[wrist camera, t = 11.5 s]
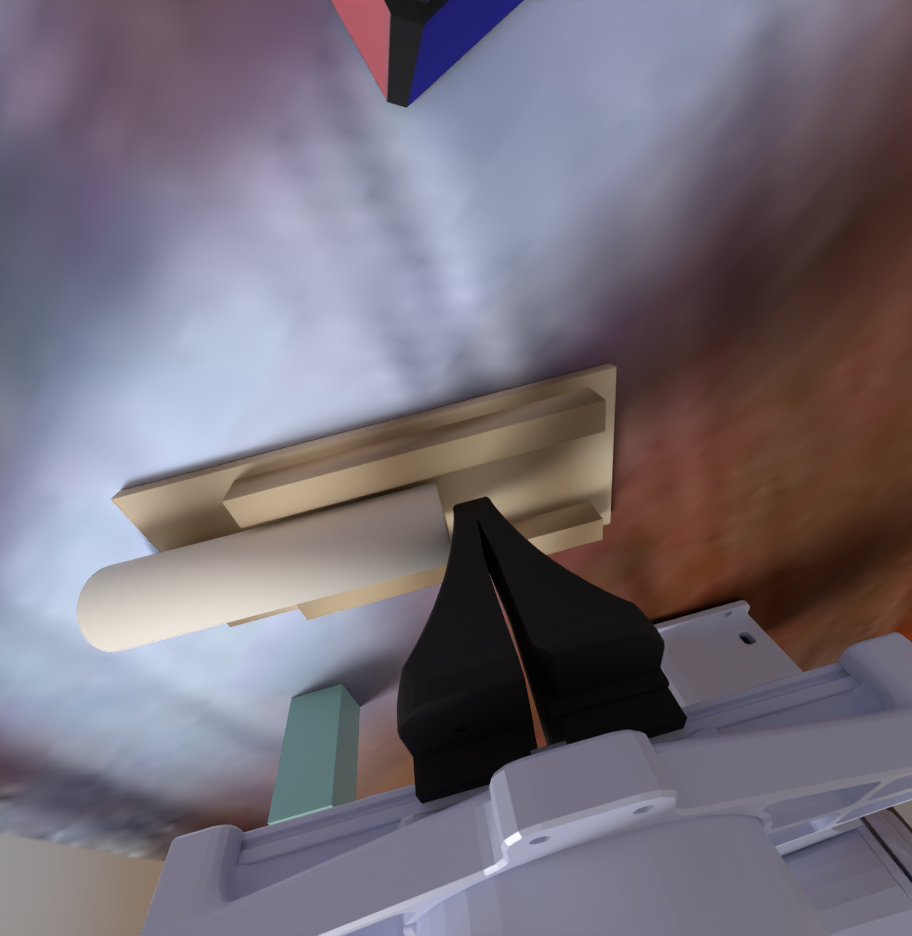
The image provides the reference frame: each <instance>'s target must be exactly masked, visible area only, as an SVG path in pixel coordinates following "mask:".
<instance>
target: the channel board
mask: <svg viewBox="0 0 912 936" xmlns="http://www.w3.org/2000/svg"><path fill="white" fill-rule="evenodd" d="M616 368H617V367H615V366H614V365H612V364H610V363H607V364H603V365H600V366H596V367H592V368H588V369H584V370H580V371H577V372H573V373H569V374H565V375H561V376H557V377H554V378H550V379H546V380H542V381H538V382H535V383H531V384H527V385H523V386H519V387H515V388H512V389H508V390H504V391H500V392H496V393H492V394H489V395H485V396H481V397H477V398H473V399H470V400H466V401H462V402H458V403H454V404H450V405H447V406H443V407H439V408H435V409H431V410H427V411H424V412H420V413H416V414H412V415H408V416H405V417H401V418H397V419H393V420H389V421H385V422H382V423H378V424H374V425H370V426H366V427H362V428H359V429H355V430H351V431H347V432H343V433H340V434H336V435H332V436H328V437H324V438H320V439H317V440H313V441H309V442H305V443H301V444H297V445H294V446H290V447H286V448H282V449H278V450H275V451H271V452H267V453H263V454H259V455H255V456H252V457H248V458H244V459H240V460H236V461H232V462H229V463H225V464H221V465H217V466H213V467H210V468H206V469H202V470H198V471H194V472H190V473H187V474H183V475H179V476H175V477H171V478H167V479H164V480H160V481H156V482H152V483H148V484H145V485H141V486H137V487H133V488H129V489H125V490H122V491H119V492H118V493H117V494H116V495H115V496H114V497H113V498H112V499H111V501H112V502H113V503H114V504H115V505H116V506H117V507H118V508H119V509H120V510H121V511H122V512H123V513H124V514H125V515H126V517H127V518H128V519H129V520H130V521H131V522H132V523H133V524H134V525H135V526H136V527H137V528H138V529H139V530H140V531H141V532H142V534H143V535H144V536H145V537H146V538H147V539H148V540H149V541H150V542H151V543H152V544H153V545H154V546H155V547H156V548H157V549H158V551H159V552H160V553H161V552H165V551H169V550H173V549H176V548H180V547H184V546H188V545H192V544H196V543H200V542H204V541H208V540H212V539H215V538H219V537H223V536H227V535H231V534H235V533H239V532H243V531H247V530H250V529H254V528H258V527H262V526H266V525H270V524H274V523H278V522H282V521H285V520H289V519H293V518H297V517H301V516H305V515H309V514H313V513H317V512H321V511H324V510H328V509H332V508H336V507H340V506H344V505H348V504H352V503H356V502H359V501H363V500H367V499H371V498H375V497H379V496H383V495H387V494H391V493H394V492H398V491H402V490H406V489H410V488H414V487H418V486H422V485H426V484H429V483H433V482H436V484H437V487H438V490H439V494H440V497H441V501H442V504H443V508H444V512H445V516H446V520H447V524H448V528H449V532H450V536H451V540H452V535H453V523H454V515H453V507H454V505H455V504H459V503H463V502H467V501H470V500H474V499H478V498H482V497H485V496H486V497H488V498H490V500H491V501H492V503H493V504H494V506H495V507H496V508H497V509H498V510H499V512H500V513H501V514H502V515H503V516H504V517H505V518H506V520H507V521H508V522H509V523H510V524H511V525H512V526H513V527H514V528H515V529H516V530H517V531H518V532H519V533H520V534H522V535H523V536H524V537H525V538H526V539H527V540H528V541H529V542H531V543H532V544H533V545H534V546H535V547H537V548H538V549H539V550H540V551H542V552H543V553H544V554H545V555H547V554H551V553H554V552H558V551H562V550H565V549H569V548H573V547H576V546H580V545H584V544H587V543H591V542H594V541H598V540H602V536H603V525H606V524H610V515H611V491H612V466H613V442H614V417H615V393H616ZM446 567H447V565H444V566H440V567H437V568H433V569H429V570H425V571H422V572H418V573H414V574H410V575H406V576H403V577H399V578H395V579H391V580H388V581H384V582H380V583H376V584H372V585H369V586H365V587H361V588H357V589H353V590H350V591H346V592H342V593H338V594H335V595H331V596H327V597H323V598H319V599H316V600H312V601H308V602H304V603H300V604H297V605H293V606H289V607H285V608H282V609H278V610H274V611H270V612H266V613H263V614H259V615H255V616H251V617H247V618H244V619H240V620H236V621H232V622H229V623H227V624H228V625H229V626H230V627H232V626H236V625H240V624H243V623H247V622H251V621H254V620H258V619H262V618H265V617H269V616H273V615H276V614H280V613H284V612H287V611H291V610H295V609H298V608H299V609H300V610H301V612H302V613H303V614H304V616H305V617H306V619H307V620H310V619H313V618H317V617H321V616H324V615H328V614H332V613H335V612H339V611H343V610H346V609H350V608H354V607H357V606H361V605H365V604H368V603H372V602H375V601H379V600H383V599H386V598H390V597H394V596H397V595H401V594H405V593H408V592H412V591H416V590H419V589H423V588H427V587H430V586H434V585H438V584H441V583H442V582H443V578H444V575H445V571H446Z"/></svg>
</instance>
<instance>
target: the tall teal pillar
mask: <svg viewBox="0 0 912 936" xmlns="http://www.w3.org/2000/svg"><path fill="white" fill-rule="evenodd" d="M359 716H360V706H359V705H358V704H357V702H356V701H355V700H354V699H353V697H352V696H351V695H350V693H349V692H348V691H347V690H346V688H345V687H344V686H343V684H340V685H336V686H332V687H329V688H325V689H322V690H318V691H315V692H311V693H307V694H304V695H300V696H297V697H293V698H292V699H291V704H290V709H289V714H288V720H287V725H286V730H285V735H284V740H283V746H282V751H281V756H280V761H279V766H278V772H277V777H276V782H275V787H274V792H273V798H272V803H271V808H270V813H269V818H268V824H269V825H273V824H276V823H280V822H283V821H287V820H290V819H294V818H297V817H301V816H304V815H308V814H311V813H315V812H318V811H322V810H325V809H329V808H332V807H336V806H339V805H343V804H346V803H349V802H353V801H356V780H357V759H358V738H359Z"/></svg>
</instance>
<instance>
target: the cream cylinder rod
mask: <svg viewBox="0 0 912 936" xmlns="http://www.w3.org/2000/svg"><path fill="white" fill-rule="evenodd" d="M451 542H452V540H451V536H450V532H449V528H448V524H447V520H446V516H445V512H444V508H443V504H442V501H441V497H440V494H439V490H438V487H437V484H436V482H433V483H429V484H426V485H422V486H418V487H414V488H410V489H406V490H402V491H398V492H394V493H391V494H387V495H383V496H379V497H375V498H371V499H367V500H363V501H359V502H356V503H352V504H348V505H344V506H340V507H336V508H332V509H328V510H324V511H321V512H317V513H313V514H309V515H305V516H301V517H297V518H293V519H289V520H285V521H282V522H278V523H274V524H270V525H266V526H262V527H258V528H254V529H250V530H247V531H243V532H239V533H235V534H231V535H227V536H223V537H219V538H215V539H212V540H208V541H204V542H200V543H196V544H192V545H188V546H184V547H180V548H176V549H173V550H169V551H165V552H161V553H157V554H153V555H149V556H145V557H141V558H138V559H134V560H130V561H126V562H122V563H118V564H114V565H110V566H107V567H104V568H102V569H100V570H99V571H97V572H96V573H95V574H93V575H92V576H91V577H90V578H89V580H88V581H87V582H86V583H85V585H84V587H83V589H82V591H81V593H80V596H79V599H78V604H77V620H78V624H79V628H80V630H81V632H82V634H83V636H84V637H85V639H86V640H87V641H88V642H89V643H90V644H91V645H92V646H94V647H95V648H97V649H99V650H102V651H106V652H118V651H123V650H126V649H130V648H134V647H138V646H142V645H145V644H149V643H153V642H157V641H160V640H164V639H168V638H172V637H176V636H179V635H183V634H187V633H191V632H195V631H198V630H202V629H206V628H210V627H213V626H217V625H221V624H225V623H229V622H232V621H236V620H240V619H244V618H247V617H251V616H255V615H259V614H263V613H266V612H270V611H274V610H278V609H282V608H285V607H289V606H293V605H297V604H300V603H304V602H308V601H312V600H316V599H319V598H323V597H327V596H331V595H335V594H338V593H342V592H346V591H350V590H353V589H357V588H361V587H365V586H369V585H372V584H376V583H380V582H384V581H388V580H391V579H395V578H399V577H403V576H406V575H410V574H414V573H418V572H422V571H425V570H429V569H433V568H437V567H440V566H444V565H447V563H448V558H449V554H450V549H451Z"/></svg>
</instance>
